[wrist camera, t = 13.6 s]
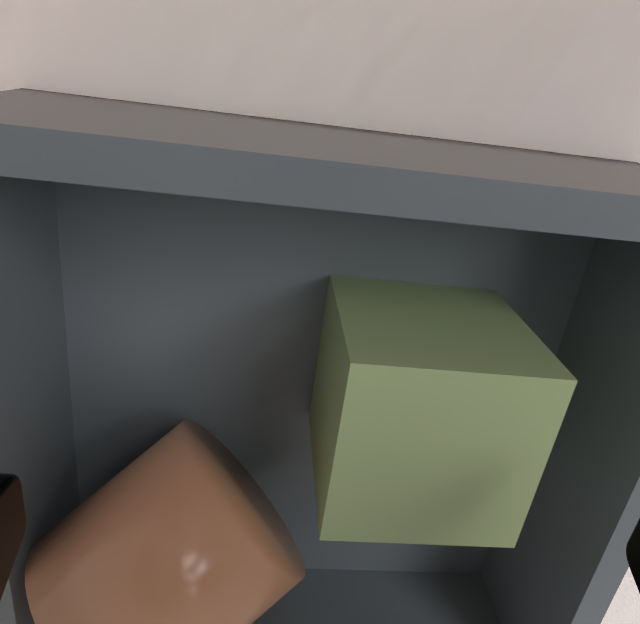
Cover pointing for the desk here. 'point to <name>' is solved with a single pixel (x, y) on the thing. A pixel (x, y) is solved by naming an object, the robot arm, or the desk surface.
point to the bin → (305, 328)
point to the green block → (430, 414)
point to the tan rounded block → (166, 544)
